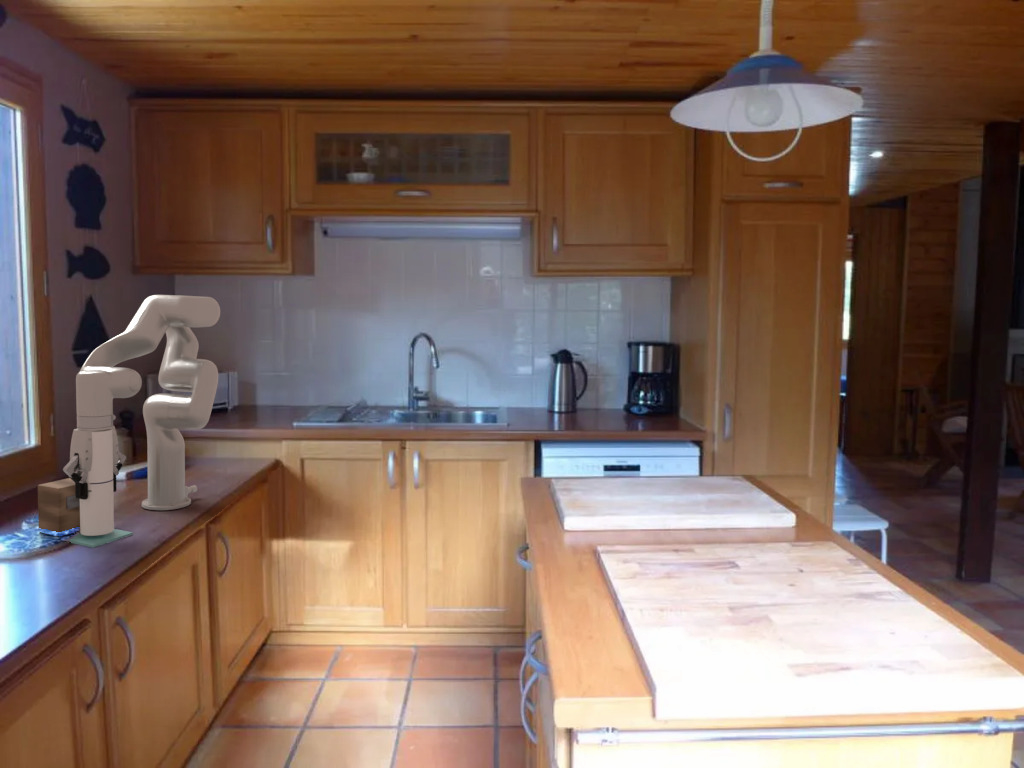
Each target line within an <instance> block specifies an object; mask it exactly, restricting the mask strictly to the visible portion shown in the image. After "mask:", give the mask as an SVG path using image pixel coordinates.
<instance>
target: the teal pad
mask: <svg viewBox="0 0 1024 768" xmlns="http://www.w3.org/2000/svg"><path fill="white" fill-rule="evenodd" d="M132 534H133V535H134V532H133V531H127V530H122V529H117V528H114V531H112V532H110V533H108V534H104V535H97V536H86V535H82V534H81V533H79V534H78V535H76V536H75V537H73V538H72V539H70V540H69V541H70V542H71V543H70V544H74V545H79V546H83V547H89V548H93V549H94V548H97V547H100V546H103V545H105V543H106V544H109V543H112V542H115V541H118V539H119V540H121V539H120V538H122V539H124V538H123V537H125V538H127V537H126V536H128V537H130V536H129V535H131V536H133V535H132ZM111 541H112V542H111ZM108 542H109V543H108Z"/></svg>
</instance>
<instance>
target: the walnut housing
mask: <svg viewBox="0 0 1024 768" xmlns="http://www.w3.org/2000/svg"><path fill="white" fill-rule="evenodd" d="M37 506H38V508H37V509H38V510H37V511H38V514H37V515H38V519H37V520H38V529H39V528H41V529H48V530H51V531H56V532H62V531H65V530H69V529H72V528H76V527H80V499H78V498H76V494H75V482H73V481H72V479H70V478H69V477H68V478H64V479H59V480H54V481H49V482H45V483H40V484H37Z"/></svg>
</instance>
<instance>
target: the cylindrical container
mask: <svg viewBox="0 0 1024 768" xmlns="http://www.w3.org/2000/svg"><path fill="white" fill-rule="evenodd" d="M89 440H90V439H89ZM92 449H93V454H92V467H91V471H89V472H88V476H87V478H86V480H85V482H86V483H87V484H88V498H87V499H85V500H84V499H80V531H79V532H80V533H81V534H82V535H86V536H97V535H104V534H108V533H110V532H112V531H114V529H115V510H114V509H115V506H114V503H115V501H114V500H115V499H114V496H115V495H114V492H113V439H112V429H108V430H103V431H96V432H92ZM80 469H82V467H81V466H80ZM80 473H81V475H82V472H80ZM81 475H80V477H81Z"/></svg>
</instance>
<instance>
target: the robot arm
mask: <svg viewBox="0 0 1024 768" xmlns="http://www.w3.org/2000/svg"><path fill="white" fill-rule="evenodd" d="M220 317H221V307H220V304H219V303H218V301H217V300H216V299H214V297H212V296H202V295H201V296H198V295H196V296H195V295H194V296H193V295H180V294H179V295H175V294H174V295H173V294H153V295H149V296H147V297H146V298H145V299H144V300H143V301H142V303H141V305H140V306H139V307H138V309H137V311H136V312H135V314H134V315H133V317H132V318H131V320H130V322H129V324H128V325H127V327H126V328H125V330H124V331H123V332H121V333H120V334H118V335H116V336H114V337H112V338H110V339H109V340H107V341H106V342H104V343H102V344H100V345H99V346H97V347H96V348H95V349H93V350H92V352H91V353H90V354H89V355H88V356H87V358H86V360H85V361H84V363H83V365H82V366H81V368H80V370H79V372H78V373H77V374H76V375H75V376H76V377H75V390H76V391H75V392H76V393H75V395H76V396H75V400H76V428H74V429H73V431H72V435H71V441H70V451H69V462H67V464H66V465H64V467H63V469H62V471H63V472H64V473H65V474H66V475H67V477H68V478H70V479H72V481H73V482H75V494H76V498H78V499H84V500H85V499H87V498H88V484H87V483H86V482H85V480H86V478H87V476H88V472H89V471H91V467H92V454H93V449H92V432H96V431H103V430H108V429H112V439H113V493H116V492H117V476H119V474H120V470H121V469H122V467H123V464H124V463H125V461H126V460H127V456H126V455H125V454H123V453H122V452H120V449H119V441H118V440H119V439H118V434H117V429H116V427H115V425H114V421H115V420H116V418H117V417H116V415H115V414H114V410H113V409H114V407H113V406H114V404H113V400H114V399H127V398H131V397H135V395H137V393H139V392H140V390H141V388H142V385H143V384H142V383H143V380H142V377H141V374H139V372H138V371H136V370H135V369H132V368H130V367H120V366H119V367H118V366H116V365H118V364H120V363H122V362H126V361H128V360H131V359H135V358H140V357H142V356H146V355H148V354H151V353H153V352H154V351H155V350H156V349H157V347H158V345H159V344H160V342H161V341H162V339H163V337H164V335H166V345H165V349H164V353H163V357H162V361H161V364H160V368H159V372H158V384H159V386H160V388H162V389H164V390H166V391H171V392H172V391H173V392H182V393H183V392H186V393H191V394H179V393H165V392H164V393H155V394H153V395H151V396H149V397H147V398H146V400H145V401H144V403H143V407H142V415H143V420H144V424H145V430H146V438H147V439H146V440H147V442H146V443H147V446H146V447H147V448H146V449H147V498H146V499H144V500H142V501H141V507H142V508H143V509H146V510H150V511H169V510H170V511H171V510H177V509H182V508H186V507H188V506H189V505H190V504H192V499H191V497H189V496H188V495H190V494H192V493H196V492H197V491H198V487H197V485H194V484H193V485H190V486H187V485H186V483H185V482H186V469H185V468H186V462H185V461H186V454H185V453H186V451H185V450H186V444H185V440H184V437H183V435H182V433H181V432H180V430H200V429H203V428H205V427H206V426H207V424H208V423H209V421H210V417H211V413H212V410H213V405H214V401H215V398H216V395H217V394H216V393H217V389H218V385H219V371H218V367H217V365H216V364H215V363H214V362H213V361H212V360H208V359H203V358H197V357H198V352H199V349H200V347H199V341H198V339H197V336H196V335H195V333H194V332H193V331H192V329H191V328H209V327H212V326H214V325H216V324H217V323H218V322H219V319H220ZM179 429H180V430H179ZM89 439H90V440H89ZM80 466H81V467H82V469H80ZM80 472H82V475H81V473H80ZM80 475H81V477H80Z"/></svg>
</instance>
